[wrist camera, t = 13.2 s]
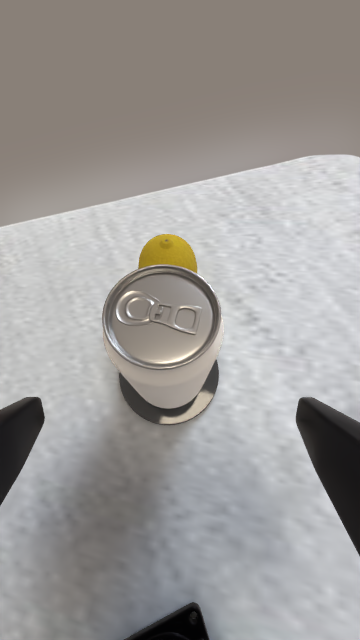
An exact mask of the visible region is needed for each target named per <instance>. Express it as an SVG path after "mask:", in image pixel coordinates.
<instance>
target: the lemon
mask: <svg viewBox="0 0 360 640" xmlns="http://www.w3.org/2000/svg"><path fill="white" fill-rule="evenodd" d="M158 264H168V265H176V266H180V267H184V268H186V269H189V270H191V271H193V272H195V273H196V274H197V263H196V258H195V255H194V252H193V250H192V249H191V247H190V245H189V244H188V243H187V242H186V241H185V240H184V239H182V238H180V237H178V236H176V235H171V234H163V235H158V236H156V237H154V238H152V239H151V240H150V241H148V242H147V244H146V245H145V246H144V247H143V250H142V252H141V254H140V258H139V267H138V269H140V268H143V267H146V266H151V265H158Z"/></svg>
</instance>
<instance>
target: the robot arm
mask: <svg viewBox="0 0 360 640" xmlns="http://www.w3.org/2000/svg"><path fill="white" fill-rule="evenodd" d="M44 419H45V417H44V412H43V407H42V402H41V399H40V398H38V397H26V398H24V399H22V400H20V401H17V402H15V403H13V404H11V405H9V406H7V407H5V408H3V409H1V410H0V505H1V504H2V502H3V500H4V499H5V497H6V495H7V494H8V492H9V490H10V488H11V487H12V485H13V483H14V482H15V480H16V478H17V477H18V475H19V473H20V471H21V469H22V468H23V466H24V464H25V462H26V460H27V458H28V456H29V453H30V451H31V449H32V447H33V445H34V443H35V441H36V439H37V437H38V434H39V432H40V430H41V428H42V426H43V424H44ZM296 423H297V426H298V429H299V431H300V434H301V436H302V439H303V441H304V444H305V446H306V449H307V451H308V454H309V456H310V459H311V461H312V464H313V466H314V468H315V470H316V472H317V474H318V476H319V478H320V480H321V482H322V484H323V486H324V488H325V490H326V492H327V494H328V496H329V498H330V500H331V502H332V503H333V505H334V507H335V509H336V511H337V513H338V515H339V517H340V519H341V521H342V523H343V525H344V527H345V529H346V531H347V532H348V534H349V536H350V538H351V540H352V542H353V544H354V546H355V548H356V550H357V552H358V554H359V556H360V423H359V422H358V421H356V420H354V419H352V418H350V417H348V416H346V415H344V414H343V413H341V412H339V411H337V410H335V409H333V408H331V407H330V406H328V405H326V404H324V403H322V402H320V401H318V400H317V399H315V398H312V397H302V398H300V399H299V402H298V408H297V413H296ZM192 612H196V613H197V617H196V618H195V619H192V618H191V617H190V614H191V613H192ZM124 640H209V636H208V633H207V629H206V626H205V623H204V619H203V616H202V612H201V609H200V607H199V605H198V604H197V603H194V602H192V603H190V604H188V605H186V606H184V607H182V608H181V609H179V610H177V611H175V612H173V613H171V614H170V615H168V616H166V617H164V618H162V619H161V620H159V621H157V622H155V623H153V624H151V625H150V626H148V627H146V628H144V629H142V630H140V631H139V632H137V633H135V634H133V635H131V636H130V637H128V638H126V639H124Z"/></svg>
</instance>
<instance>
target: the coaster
mask: <svg viewBox="0 0 360 640" xmlns="http://www.w3.org/2000/svg"><path fill="white" fill-rule="evenodd" d="M119 379H120V386H121V390H122V393H123V396H124V398H125V400H126V401H127V403H128V404H129V406H130V407H131V408H132V409H133V410H134V411H135V412H136V413H137V414H138V415H140V416H141V417H143V418H145V419H146V420H148V421H151V422H154V423H157V424H164V425H174V424H179V423H183V422H186V421H188V420H190V419H192V418H194V417H196V416H197V415H199V414H200V413H201V412H202V411H203V410H204V409H205V408H206V407H207V406H208V404H209V403H210V402H211V400H212V398H213V396H214V394H215V392H216V389H217V385H218V379H219V370H218V364H217V360H215V362H214V364H213V366H212V368H211V370H210V372H209V374H208V376H207V378H206V380H205V382H204V384H203V386H202V388H201V389H200V391H199V393H198V394H197V395H196V396H195V397H194V398H193V399H192V400H191V401H190V402H188V403H187V404H185V405H183V406H180V407H177V408H170V409H167V408H160V407H157V406H154V405H152V404H150V403H149V402H147V401H146V400H145V399H144V398H143V397H142V396H141V395H140V394H139V393H138V392H137V391H136V390H135V389H134V388H133V386H132V385H131V384H130V383H129V382H128V381H127V380H126V378H125V377H124V376H123V375H122V374H121V373H119Z"/></svg>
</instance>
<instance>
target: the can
mask: <svg viewBox="0 0 360 640" xmlns="http://www.w3.org/2000/svg"><path fill="white" fill-rule="evenodd" d="M102 323H103V339H104V344H105V348H106V350H107V353H108V355H109V357H110V359H111V361H112V362H113V364H114V365H115V366H116V368H117V369H118V370H119V371H120V373H121V374H122V375H123V376H124V377H125V378H126V380H127V381H128V382H129V383H130V384H131V385H132V386H133V388H134V389H135V390H136V391H137V392H138V393H139V394H140V395H141V396H142V397H143V398H144V399H145V400H146V401H147V402H149V403H150V404H152V405H154V406H157V407H160V408H167V409H170V408H177V407H180V406H183V405H185V404H187V403H188V402H190V401H191V400H192V399H193V398H194V397H195V396H196V395H197V394H198V393H199V391H200V389H201V388H202V386H203V384H204V382H205V380H206V378H207V376H208V374H209V372H210V370H211V368H212V366H213V364H214V362H215V360H216V358H217V355H218V353H219V351H220V348H221V345H222V340H223V333H224V326H223V319H222V315H221V308H220V304H219V300H218V298H217V295H216V293H215V292H214V290H213V289H212V287H211V286H210V285H209V283H208V282H207V281H206V280H205V279H203V278H202V277H201V276H200V275H198V274H196V273H195V272H193V271H191V270H189V269H186V268H184V267H180V266H176V265H168V264H158V265H151V266H146V267H143V268H140V269H137V270H135V271H133V272H131V273H130V274H128V275H126V276H125V277H124V278H122V279H121V280H120V281H119V282H118V283H117V284H116V285H115V286H114V287H113V289H112V290H111V292H110V293H109V295H108V297H107V299H106V301H105V304H104V308H103V314H102Z"/></svg>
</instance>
